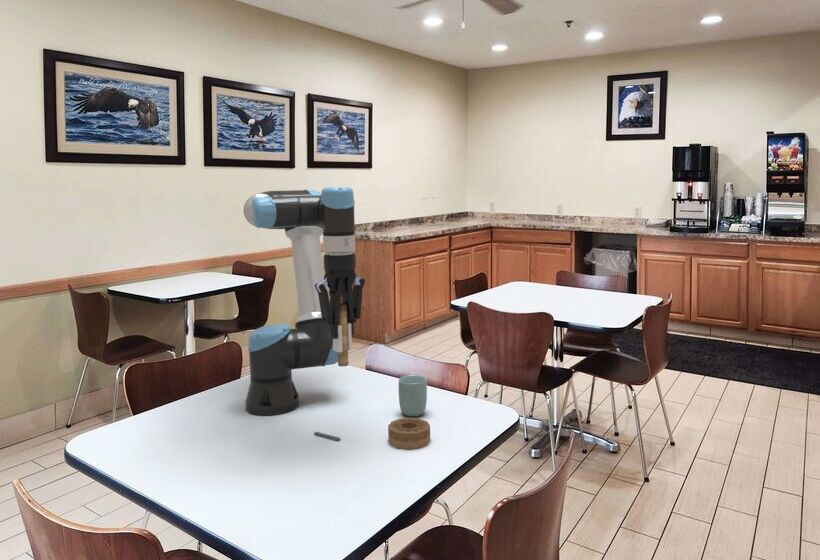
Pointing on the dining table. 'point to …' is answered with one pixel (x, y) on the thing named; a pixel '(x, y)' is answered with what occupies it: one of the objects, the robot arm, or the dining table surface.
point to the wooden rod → (343, 336)
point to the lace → (327, 436)
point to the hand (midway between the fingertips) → (342, 349)
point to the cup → (412, 395)
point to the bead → (409, 433)
